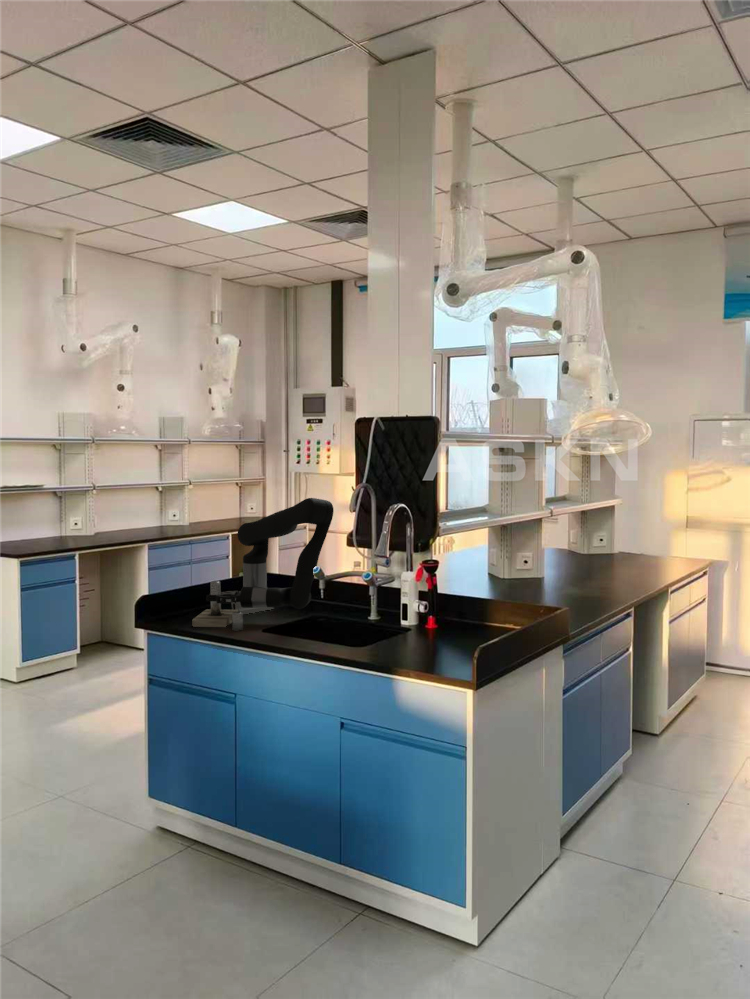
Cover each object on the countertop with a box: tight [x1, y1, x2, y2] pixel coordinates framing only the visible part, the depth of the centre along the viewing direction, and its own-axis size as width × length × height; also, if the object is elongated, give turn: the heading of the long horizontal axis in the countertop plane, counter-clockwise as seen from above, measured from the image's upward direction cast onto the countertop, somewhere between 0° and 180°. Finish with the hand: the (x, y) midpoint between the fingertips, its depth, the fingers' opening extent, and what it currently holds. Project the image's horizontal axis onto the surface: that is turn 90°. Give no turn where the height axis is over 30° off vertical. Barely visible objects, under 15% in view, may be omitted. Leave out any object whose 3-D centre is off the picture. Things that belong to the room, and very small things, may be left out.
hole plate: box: [191, 608, 238, 628], centre depth 284 cm, size 18×12×2 cm, turn 177°
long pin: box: [209, 580, 222, 616], centre depth 283 cm, size 4×4×13 cm
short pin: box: [231, 612, 244, 632], centre depth 270 cm, size 4×4×6 cm
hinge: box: [230, 590, 275, 615], centre depth 302 cm, size 17×5×10 cm, turn 136°
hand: (208, 597), depth 283 cm, fingers closed on long pin, 3 cm apart
